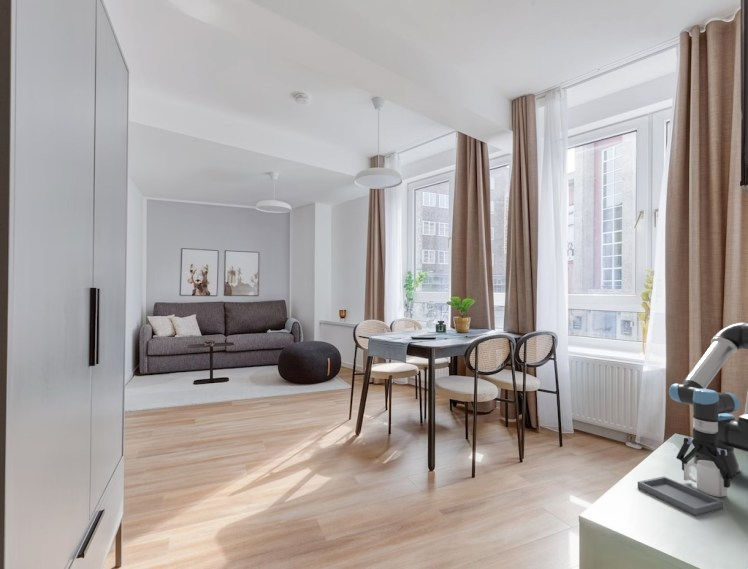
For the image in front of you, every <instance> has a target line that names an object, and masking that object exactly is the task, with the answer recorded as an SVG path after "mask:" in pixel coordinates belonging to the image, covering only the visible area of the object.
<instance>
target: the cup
mask: <svg viewBox="0 0 748 569" xmlns="http://www.w3.org/2000/svg"><path fill="white" fill-rule="evenodd" d="M690 466H692V467H695V468H696V478H694V477H693V476H691V473H690V474H689V467H690ZM686 475H687V477H688V478H689V479H690V480H689V481H691V482H693V483H696V487H697V491H700V492H702V493H704V494H707V495H709V496H711V497H720V498H721V497H723V496H721V495H720V479H721V477H723V476H722V475H721V473H720V469H718V468H717V467H716V465H715V463H714V462H712V461H707V460H698V461H697V463H695V462H693V461H691V462H690V461H689V462H688V464H687V465H686Z"/></svg>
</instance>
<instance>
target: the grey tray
mask: <svg viewBox="0 0 748 569" xmlns="http://www.w3.org/2000/svg"><path fill="white" fill-rule="evenodd" d="M638 488H639V489H638ZM637 489H638V490H640V489H641V490H640V491H642V490H643V491H642V492H644V491H645V493H647V494H649V495H651V496H653V497H655V498H657V499H660V500H661V501H663V502H665V503H667V504H669V505H672V506H674V507H675V508H678V509H680V510H682V511H683V512H686V513H688V514H690V515H691V516H692V515H693V516H695V517H698V516H702V515H705V514H710V513H713V512H716V511H717V512H718V511H722V510H724V506H725V504H724V501H723V500H720V499H718V498H716V497H715V496H712V495H708V494H705V493H703V492H701V491H700V490H698V489H694V488H692V487H690V486H688V485H685V484H683V483H681V482H678V481H677V480H673V479H671V478H669V477H667V476H660V477H659V476H658V477H654V478H649V479H645V480H638V481H637ZM721 509H722V510H721Z"/></svg>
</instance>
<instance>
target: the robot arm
mask: <svg viewBox="0 0 748 569" xmlns="http://www.w3.org/2000/svg"><path fill="white" fill-rule="evenodd" d="M738 350H748V322H746V321H745V322H744V321H740V322H736V323H732V324H730V325H727V326H726V327H723V328H722V329H720V330H719V331H718V332H717V333H715V334H714V336H713V337H712V338H711V339H710V346H709V347H708V348H707V350H706V351H705V352H704V353H703V355H702V356H701V357H700V359H699V360H698V361H697V363H696V364H695V366H694V367H693V368H692V370H691V371H690V372H689V373H688V375H687V376H686V378H684V380H683V381H682V383H673V384H671V385H670V387H669V389H668V390H669V391H668V395H669V397H670V398H671V400H673V401H675V402H677V403H681V404H684V405H690V406H692V413H693V414H692V427H693V428H692V438H691V437H684V438H683V443H682V445H681V448H680V449H679V451H678V453H677V455H676V459H677V460H679V461H680V462H681V470H682V471H683V480H684V481H685V482H686V481H691V480H690V479H689V478H688V477H687V475H686V465H687V464H688V463H690V461H691V460H692V459H693V461H694V462H693V463H696V464H697V461H698V460H707V461H712V462H714V463H715V465H716V467H717V468H718V469H720V473H721V475H722V476H723V477H721V479H720V495H721V496H722V497H725V496H728V488H730V487H731V480H735V479H737V478H738V476H737V473H739V472H740V465H739V462H738V460H737V456H736V455H735V449H737V450H740V451H742V452H747V453H748V390H747V393H746V399H745V406H744V413H743V414H740V415H738V420H737V419H735V418H736V417H735V415H733V414H731V413H733V412H737V411H738V410H739V409H740V407H741V401H740V400H739V398H738V397H737V396H736V395H735V394H733V393H731V392H718V391H716V390H715V389H714V390H713V389H709V388H708V386H709V385H710V383H711V382H712V381H713V380H714V378H715V377H716V375H717V374H718V373H719V372H720V370H721V369H722V367H723V366H724V365H725V363H726V362H727V360H728V359H729V358H730V356H731V355H734V354H736V353H737V352H738ZM691 445H693V448H692V449H691V450H690V451H689V453H687V452H688V450H689V449H690V446H691ZM689 474H690V475H691V466H690V467H689Z"/></svg>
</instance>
